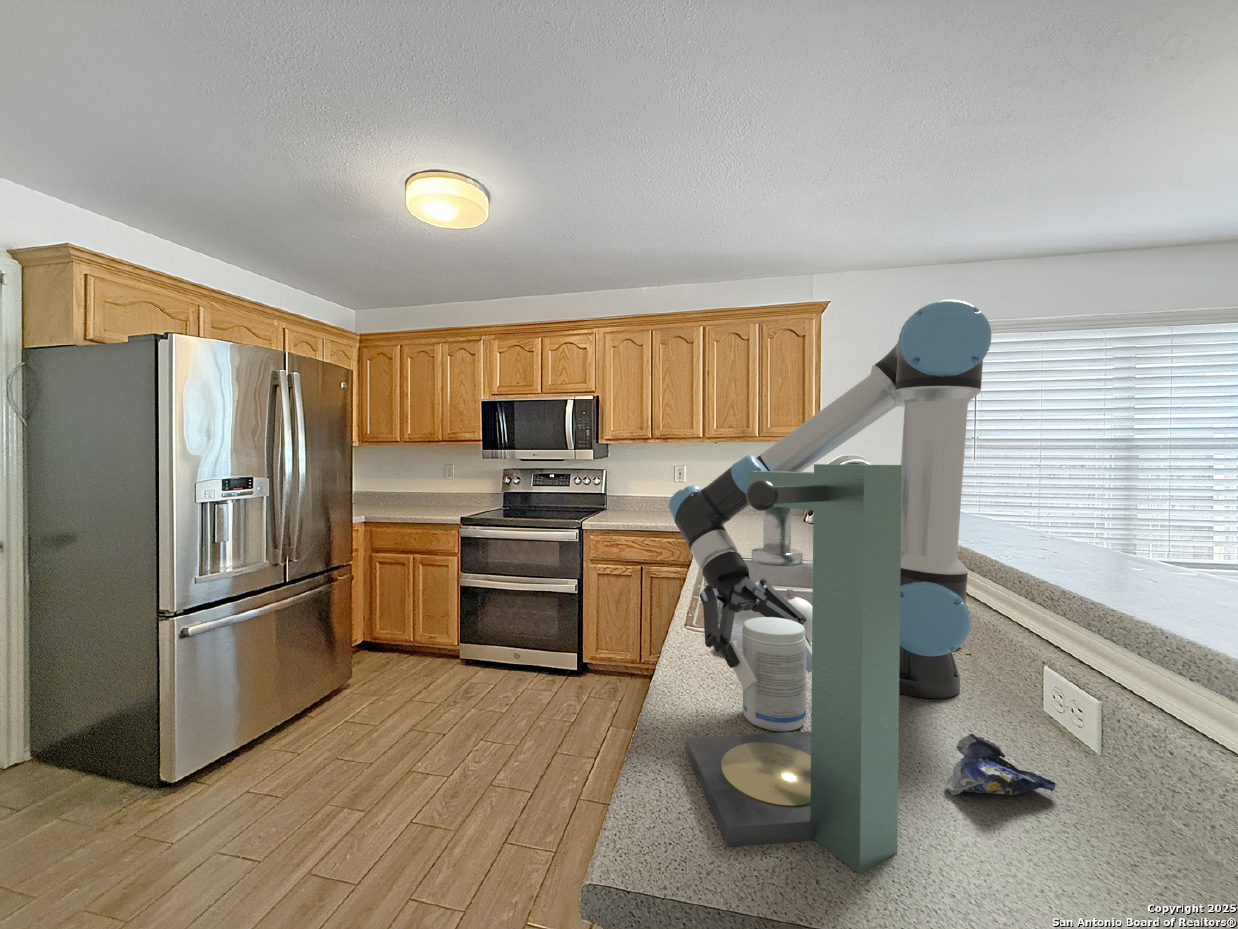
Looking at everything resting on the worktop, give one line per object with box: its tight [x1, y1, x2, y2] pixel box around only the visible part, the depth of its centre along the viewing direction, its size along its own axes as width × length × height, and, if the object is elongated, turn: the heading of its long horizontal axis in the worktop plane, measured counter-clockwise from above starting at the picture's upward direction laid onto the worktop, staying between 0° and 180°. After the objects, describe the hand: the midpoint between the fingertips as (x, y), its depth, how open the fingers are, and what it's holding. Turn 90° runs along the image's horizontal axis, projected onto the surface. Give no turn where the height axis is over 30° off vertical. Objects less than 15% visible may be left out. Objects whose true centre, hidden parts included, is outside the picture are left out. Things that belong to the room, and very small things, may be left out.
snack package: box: [945, 733, 1056, 799], centre depth 67 cm, size 12×7×12 cm
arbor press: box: [685, 463, 902, 875], centre depth 63 cm, size 18×23×40 cm
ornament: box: [783, 588, 812, 643], centre depth 117 cm, size 10×10×12 cm
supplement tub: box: [742, 616, 807, 732], centre depth 83 cm, size 10×10×15 cm
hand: (784, 677), depth 81 cm, fingers open, 13 cm apart
